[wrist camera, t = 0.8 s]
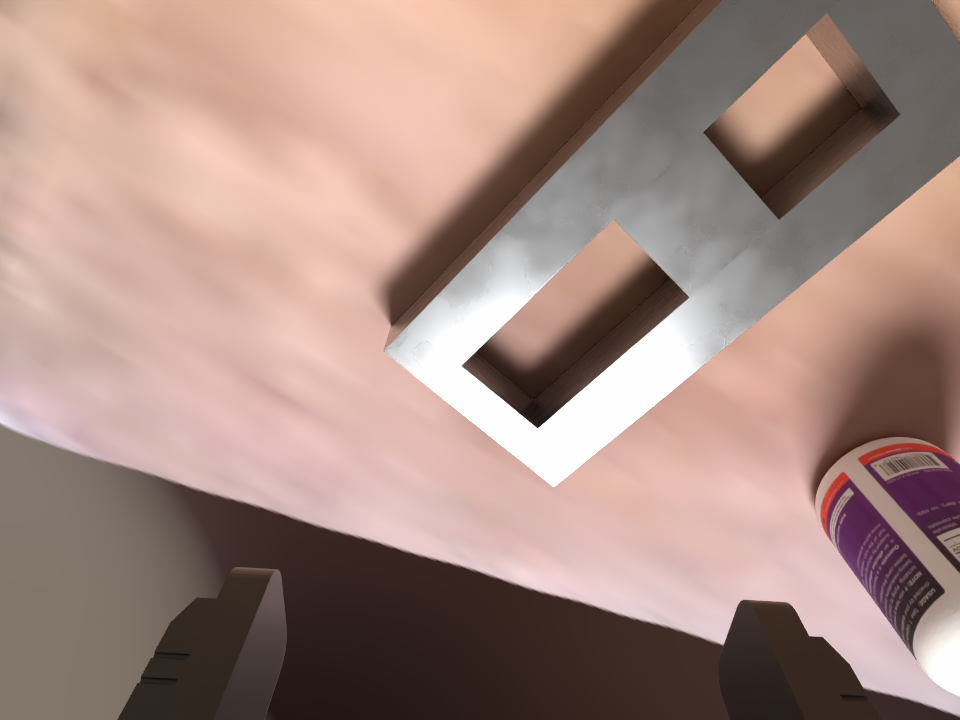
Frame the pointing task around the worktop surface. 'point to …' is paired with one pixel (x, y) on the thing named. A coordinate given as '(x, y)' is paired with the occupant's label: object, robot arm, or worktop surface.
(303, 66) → the worktop surface
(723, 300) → the silver slotted board
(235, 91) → the worktop surface
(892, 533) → the pill bottle
